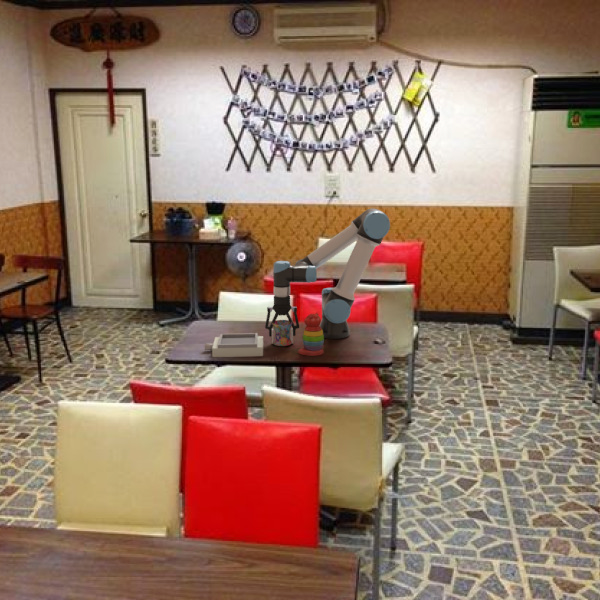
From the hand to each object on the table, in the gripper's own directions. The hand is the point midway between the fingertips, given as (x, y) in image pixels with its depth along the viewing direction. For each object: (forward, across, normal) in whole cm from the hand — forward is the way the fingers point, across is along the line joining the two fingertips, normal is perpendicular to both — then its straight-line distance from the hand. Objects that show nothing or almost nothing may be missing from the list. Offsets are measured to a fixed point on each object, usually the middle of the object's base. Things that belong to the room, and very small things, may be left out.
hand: (282, 342), depth 309 cm
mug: (+1, 0, 0) cm, 1 cm away
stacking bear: (+1, -13, +14) cm, 19 cm away
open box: (+1, +22, +9) cm, 24 cm away
